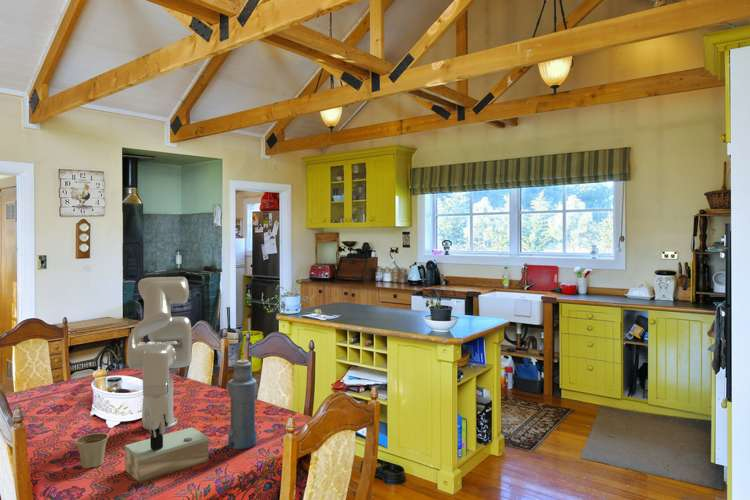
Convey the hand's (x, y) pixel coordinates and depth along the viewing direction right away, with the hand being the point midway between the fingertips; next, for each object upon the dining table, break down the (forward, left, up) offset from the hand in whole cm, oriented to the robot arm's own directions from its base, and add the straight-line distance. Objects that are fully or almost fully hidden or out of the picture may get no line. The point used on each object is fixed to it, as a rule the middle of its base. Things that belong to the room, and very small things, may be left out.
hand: (156, 448), depth 159 cm
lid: (-4, +5, -1) cm, 7 cm away
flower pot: (-22, -12, -9) cm, 27 cm away
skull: (-90, +35, -9) cm, 97 cm away
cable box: (-4, +5, -8) cm, 11 cm away
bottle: (-2, +31, -9) cm, 32 cm away
